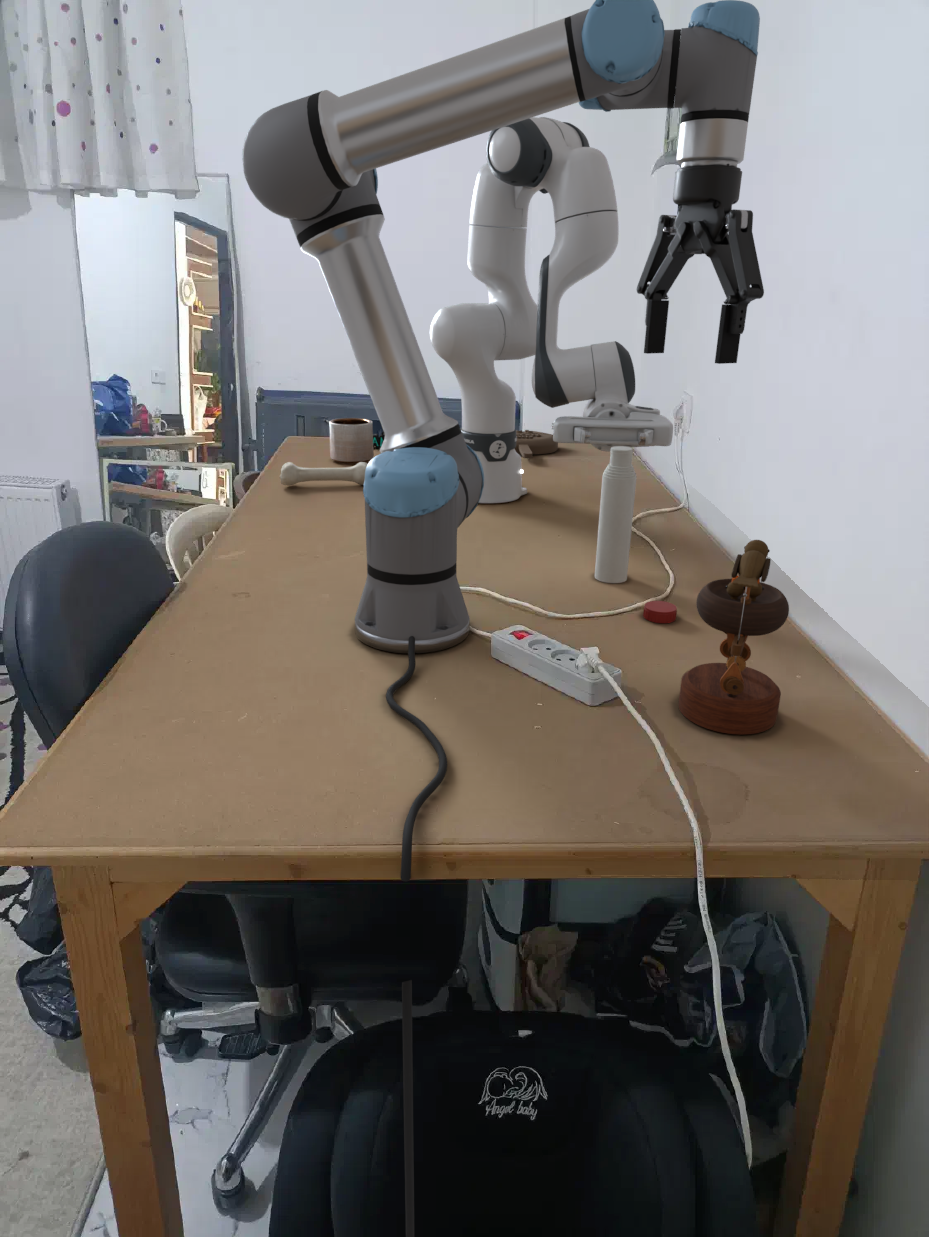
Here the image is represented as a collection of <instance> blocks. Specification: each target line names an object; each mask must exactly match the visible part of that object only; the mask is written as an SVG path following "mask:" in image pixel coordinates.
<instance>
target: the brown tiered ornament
mask: <svg viewBox="0 0 929 1237" xmlns="http://www.w3.org/2000/svg"><path fill="white" fill-rule="evenodd" d="M743 550H744V551H743V552H744V553H742V554H740V553H739V554H737V556H736V558H735V561H734V563H733V568H732V572H731V578H721V579H720V578H719V579H716V580H711V581H710V582H708V583H707V584H704V586H702V588H701V589H700V591H699V592H698V594H697V597H696V605H695V606H696V610H697V613H698V616H699V617H700V618H701V620H702V621H703V622H704V623H705V624H706V625H708V626H709V627H711V628H713V629H715V630H717V631H720V632H722V633H723V634H725V635H726V638H725V639H723V640H722V641H721V642H720V644H719V653H720V654H721V655H722V656H723V657H724V658H726V662H708V663H703V664H699V665H696V666H694V667H692V668H690V669H689V670H687V671H686V672H685V673H683V675H682V677H681V681H680V688H679V696H678V703H677V706H678V709H679V711H680V713H681V714H682V715H683V717H685V718H686V719H687V720H689V721H690V722H692V723H693V724H695V725H697V726H699V727H702V728H704V729H707V730H711V731H714V732H718V733H723V734H728V735H729V734H730V735H755V734H759V733H762V732H763V733H764V732H766V731H768V730H769V729H771V728H773V726H775V724H776V722H777V719H778V713H779V707H780V702H781V695H782V692H781V689H780V687H779V686H778V685H777V684H776V682H774V680H773V679H772V678H771V677H770V676H768V675H766V674H765V673H764V672H761V671H759V670H757V669H754V668H752V667H750V666H749V667H748V666H747V661H748V660H749V659H750V658H751V654H752V650H751V647H750V646H749V645H748V644H747V643H746V642H747V639H748V637H757V636H765V635H769V634H772V633H774V632H776V631H778V630H779V629H780V628H781V627H783V625H784V624H785V623H786V621H787V620H788V617H789V613H790V605H789V601H788V598H787V597H786V595H785V594H784V593H783V592H782V590H780V589H779V588H777V587H775V586H773V585H771V584H769V583H765V582H766V581H767V578H768V575H769V573H770V568H771V561H772V560H771V558H769V557H768V555H769V553H770V551H771V550H770V549H769V547H768V544H767V543H766V542H765V541H763V540H762V539H761V540H760V539H752V540H750V541H749V542H747V543H746V545H744V547H743Z"/></svg>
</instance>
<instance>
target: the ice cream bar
mask: <svg viewBox="0 0 929 1237" xmlns="http://www.w3.org/2000/svg"><path fill="white" fill-rule="evenodd" d="M515 430H516V436H517V441H516V447H515V451H516V452H517V453H518V454H519V455H520V456H521V458H523V459H532V458H533V455H545V454H552V453H554V452H557V451H558V450H559V443H558V442H554V441H553V433H552V434H551V433H547V432H542V431H537V430H529V429H524V431H523V430H517V429H515Z"/></svg>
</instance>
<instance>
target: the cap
mask: <svg viewBox="0 0 929 1237" xmlns="http://www.w3.org/2000/svg"><path fill="white" fill-rule="evenodd" d="M677 613H678V607H677V606H676V605H675V604H674V603H672V602H669V601H665V600H664V601H663V600H650V601H647V602H645V603H644V606H643V612H642V616H643V618H644V619H645V620H646V621H649V622H652V623H656V624H671V623H673V622H675V621H676V619H677V615H678V614H677Z"/></svg>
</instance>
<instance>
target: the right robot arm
mask: <svg viewBox="0 0 929 1237" xmlns="http://www.w3.org/2000/svg"><path fill="white" fill-rule="evenodd" d="M485 157H486V163H485V164H483V165H482V166H481V167H480V168H479V170H478V172H477V174H476V177H475V181H474V186H473V191H472V196H471V202H470V209H469V210H470V211H469V222H468V223H469V225H468V239H467V240H468V241H467V254H466V255H467V256H466V257H467V258H466V264H467V267H468V270H469V272H470V274H471V275H472V276H473V277H474V278H475V279H476V280H478V281H480V282H481V283H482V284H484V285H485V287H486V290H487V294H488V302H485V303H483V302H477V303H475V302H471V303H470V302H467V303H466V302H465V303H463V302H462V303H456V304H452V305H449V306H444V307H441V308H439V309H438V310H437V312H435V314H434V316H433V318H432V319H431V323H430V327H429V338H430V342H431V343H430V344H431V345H432V348H433V350H434V351H435V353H436V354H437V355H438V356H439V358H441V359H442V360H443V361H445V362H446V364H448V366H449V367H450V369H451V370H452V372H453V373H454V375H455V378H456V380H457V383H458V387H459V390H460V391H459V392H460V399H461V427H460V429H461V432H462V435H463V437H464V440H465V443H466V444H467V445H468V446H469V447H470V448H472V450H473V451H474V452H475V453H476V454H477V456H478V457H479V459H480V461H481V464H482V467H483V471H484V487H483V491H482V495H481V498H480V501H479V503H478V504H501V503H502V504H503V503H508V502H509V503H510V502H513V501H516V500H518V499H520V498H521V496H524V495H527V494H528V488H527V487H524V486H523V475H522V474H524V469H522V468H523V467H522V455H521V454H518V453H517V452H516V451H515V447H516V441H517V436H516V430H517V429H515V428H516V401H517V400H516V398H517V397H516V392H515V391H514V389H513V388H512V386H510V384H508V383H507V382H506V381H504V380H502V379H500V378H499V377H498V375H497V373H496V370H495V361H517V360H518V361H519V360H524V359H526V358H530V357H534V359H533V364H532V369H531V371H532V372H531V386H532V392H533V394H534V396H535V399H537V401H539V402H540V403H542V404H543V405H545V406H547V407H549V408H551V409H554V408H557V407H560V406H565V405H569V404H572V403H578V402H584V401H586V404H585V406H584V408H583V411H582V416H576V415H575V416H572V415H571V416H570V415H566V416H565V415H564V416H559V417H556V418H555V420H554V421H553V422H552V423H551V425H550V427H551V430H552V431H553V432H552V435H553V441H554V442H558V444H588V445H591V446H593V448H595V449H597V450H599V451H602V452H606V453H607V452H608V453H610V451H611V450H610V449H611V447H614V446H625V447H631V448H642V447H670V446H671V445H672V443H673V435H674V424H673V423H672V421H671V420H670V419H669V418H667V416H664V415H662V414H661V411H660V409H658V408H653V407H647V406H640V405H634V404H631V401H632V400H633V399H634V396H635V393H636V375H635V374H636V373H635V367H634V363H633V360H632V357H631V354H630V352H629V351H628V350H627V348H626V347H625V346H624V345H623V344H621V343H620V342H619V341H617V340H615V341H614V340H613V341H607V342H599V343H593V344H590V345H584V346H579V347H573V348H572V347H571V348H559V347H558V331H559V312H560V303H561V300H562V298H563V296H564V295H565V293H566V292H567V291H568V290H569V289H570V288H571V287H573V286H574V285H576V284H577V283H578V282H581V281H583V279H585V278H587V277H588V276H590V275H592V274H593V273H595V272H597V271H598V270H599V269H601V268H602V267H603V266H605V264H607V263H608V262H609V261H610V259H611V258H612V257H613V255H614V253H615V252H616V249H617V247H618V244H619V236H620V235H619V232H620V231H619V213H618V204H617V196H616V191H615V190H616V189H615V184H614V181H613V177H612V172H611V169H610V166H609V162H608V159H607V157H606V155H605V154H604V153H603V151H601V150H599V149H598V148H595V147H590V143H589V140H588V138H587V136H586V134H584V132H583V131H582V130H581V129H580V128H579V127H577V125H575V124H572V123H571V122H566V121H560V120H558V119H555V118H551V117H547V116H539V117H538V116H535V117H532V118H529V119H525V120H522V121H519V122H516V123H513V124H510V125H507V126H504V127H501V128H498V129H495V130H492V131H490V132H489V136H488V138H487V142H486V148H485ZM538 192H540V193H541V194H543V195H544V194H549V196H550V199H551V202H552V211H553V219H554V220H553V221H554V240H553V244H552V248H551V250H550V252H549V254H548V255H547V256H545V257H544V258H543V259H542V261H541V264H540V269H539V276H538V291H537V292H538V293H537V303H536V301H535V300H534V298H533V296H532V294H531V292H530V291H531V290H530V289H529V286H528V281H527V275H526V247H527V233H528V232H527V231H528V219H529V218H528V215H529V208H530V207H529V206H530V203H531V200H532V198H533V197H534V195H535V194H536V193H538ZM329 421H330V419H328V420H325V418H324V419H323V423H327V424H328V425H329Z"/></svg>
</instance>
